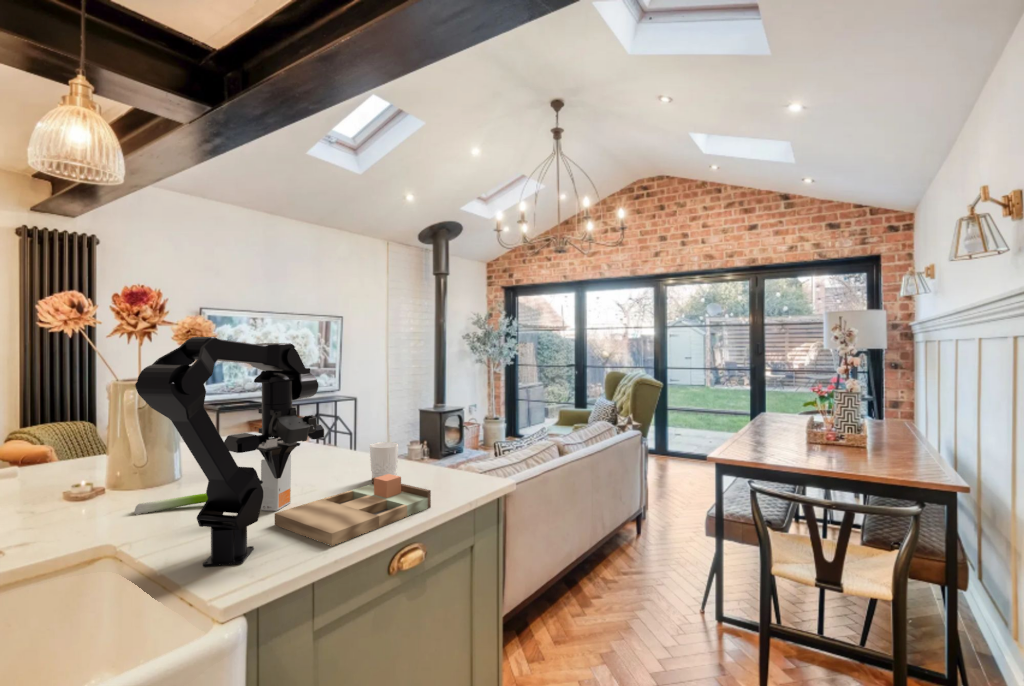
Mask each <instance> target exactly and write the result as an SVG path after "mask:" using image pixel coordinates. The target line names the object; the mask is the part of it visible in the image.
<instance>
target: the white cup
mask: <svg viewBox="0 0 1024 686" xmlns="http://www.w3.org/2000/svg"><path fill="white" fill-rule="evenodd" d="M369 457H370V459H369V460H370V471H371V479H372V478H374V477H375V478H376V477H380V476H383V475H386V474H391V475H396V476H398V475H397V473H398V472H397V470H398V461H399V460H398V459H399V443H397V442H394V441H383V442H382V441H381V442H375V443H371V444H369Z"/></svg>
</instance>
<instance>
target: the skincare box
mask: <svg viewBox="0 0 1024 686" xmlns="http://www.w3.org/2000/svg"><path fill="white" fill-rule="evenodd" d="M260 462H261V463H260V480H261V481H263V483H262V484H261V486H262V488H263V501H262V505H261V510H260V511H269V512H270V511H272V512H273V511H274V512H277V511H279V510H280V509H282V508H284V507H286V506H287V505H289V504H291V500H292V499H291V498H292V497H291V493H292V489H291V488H292V487H291V485H292V483H291V482H292V481H291V480H292V478H291V477H292V454H290V455H289V457H288V460H287V462H286V465H285V468H284V470H283V473H282V476H281V478H278V479H276V478H274V476H273V474H272V472H271V470H270V468H269V466H268V464H267V462H266V460H265V458H263V459H260Z"/></svg>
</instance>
